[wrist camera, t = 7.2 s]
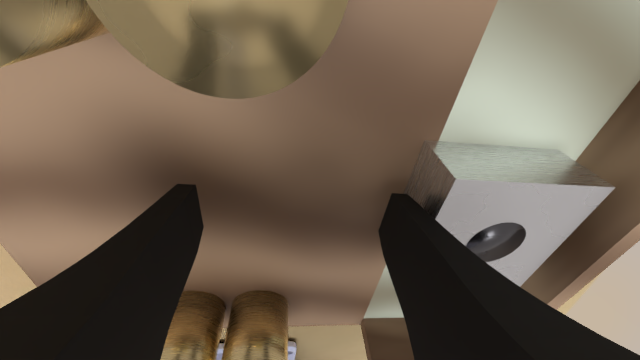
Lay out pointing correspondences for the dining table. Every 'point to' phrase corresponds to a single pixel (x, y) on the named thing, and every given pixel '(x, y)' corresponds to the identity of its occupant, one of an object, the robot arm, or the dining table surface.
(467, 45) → the tray
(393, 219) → the robot arm
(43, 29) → the spacers
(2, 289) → the dining table surface
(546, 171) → the square block with knob
